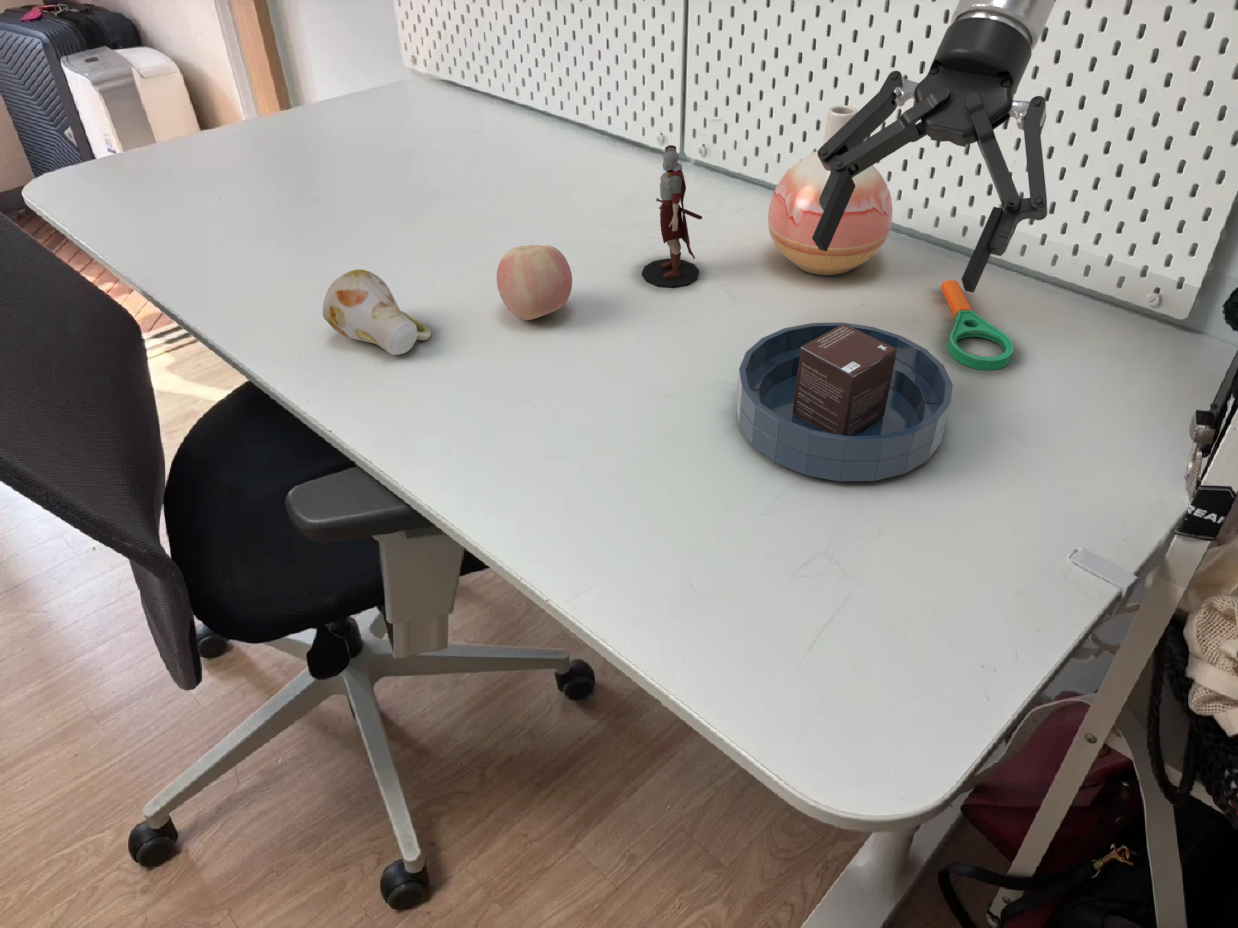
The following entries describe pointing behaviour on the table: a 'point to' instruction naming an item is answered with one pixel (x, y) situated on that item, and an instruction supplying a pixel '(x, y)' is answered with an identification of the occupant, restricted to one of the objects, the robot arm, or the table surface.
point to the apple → (534, 280)
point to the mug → (370, 313)
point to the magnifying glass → (973, 331)
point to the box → (843, 381)
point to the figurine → (672, 229)
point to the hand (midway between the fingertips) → (890, 265)
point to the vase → (801, 211)
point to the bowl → (813, 452)
